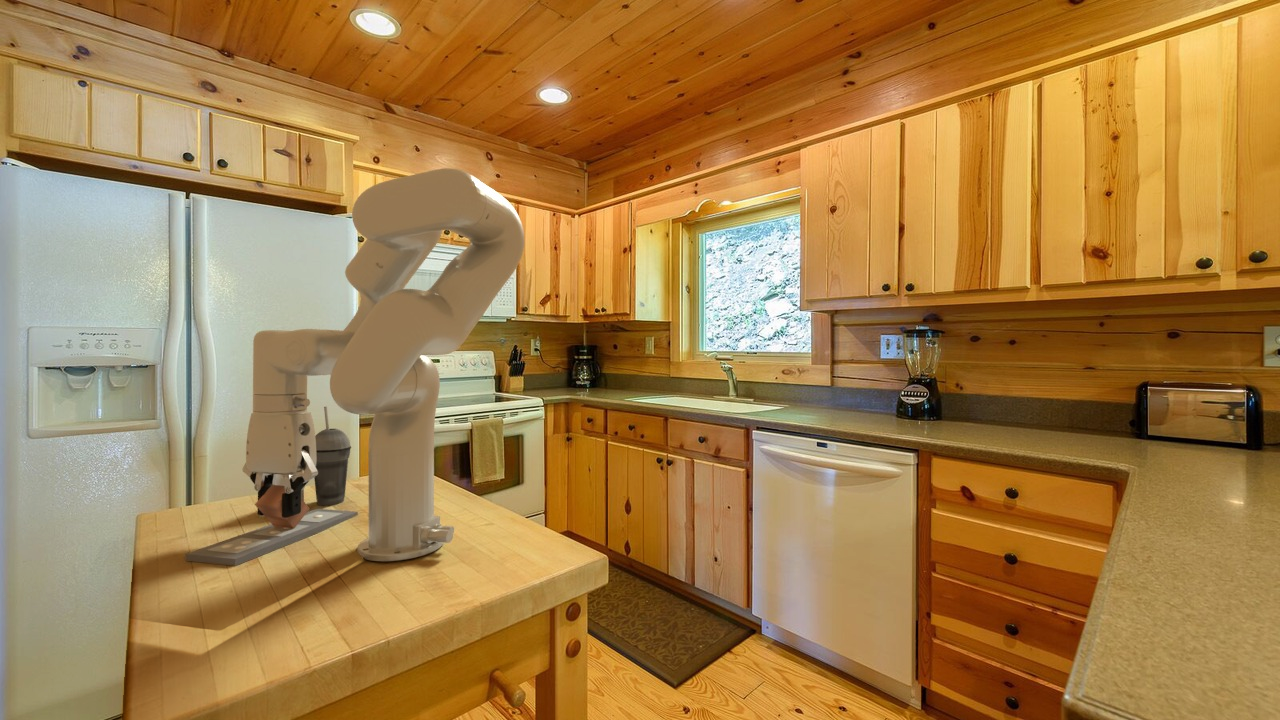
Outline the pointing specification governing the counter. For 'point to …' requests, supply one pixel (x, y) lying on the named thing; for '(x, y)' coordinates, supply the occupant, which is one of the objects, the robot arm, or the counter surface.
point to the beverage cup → (331, 465)
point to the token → (278, 508)
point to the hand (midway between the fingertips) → (279, 513)
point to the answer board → (268, 538)
